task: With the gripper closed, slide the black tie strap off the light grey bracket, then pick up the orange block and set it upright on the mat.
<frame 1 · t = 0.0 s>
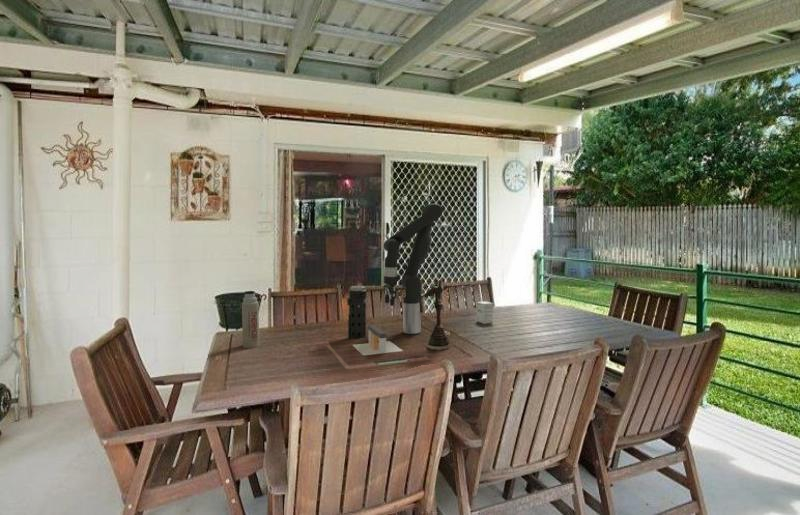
hand: (389, 304, 256), 17 cm above the table, tool pointing down, fingers open, 8 cm apart
tie strap: (377, 331, 225), point 10 cm above the table, slide at 0.0 cm
grey cylindrical canister: (484, 322, 289), on the table
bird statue: (434, 346, 235), on the table
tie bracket: (377, 350, 226), on the table
mat: (389, 360, 210), on the table
orange block: (377, 347, 226), point 1 cm above the table, touching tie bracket
thermos bottle: (251, 346, 235), on the table
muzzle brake: (357, 337, 251), on the table
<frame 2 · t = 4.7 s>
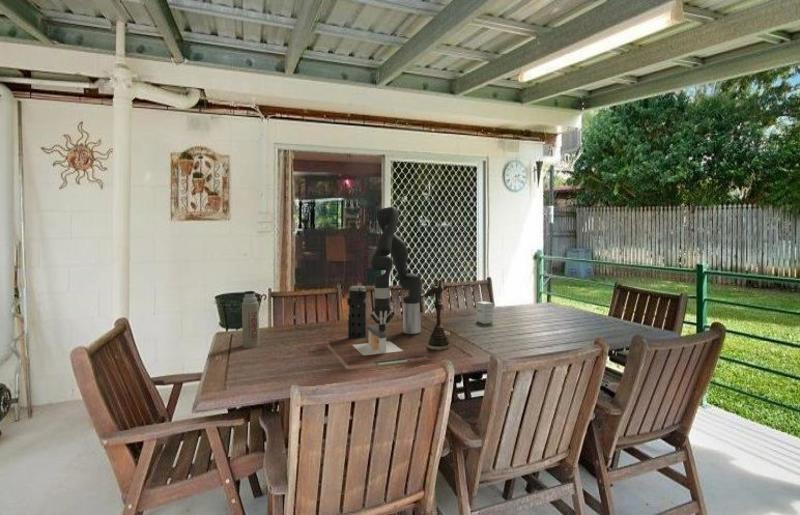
hand: (382, 331, 226), 9 cm above the table, tool pointing down, fingers closed
tie strap: (376, 331, 225), point 10 cm above the table, slide at 0.5 cm, touching gripper
everything else where it was.
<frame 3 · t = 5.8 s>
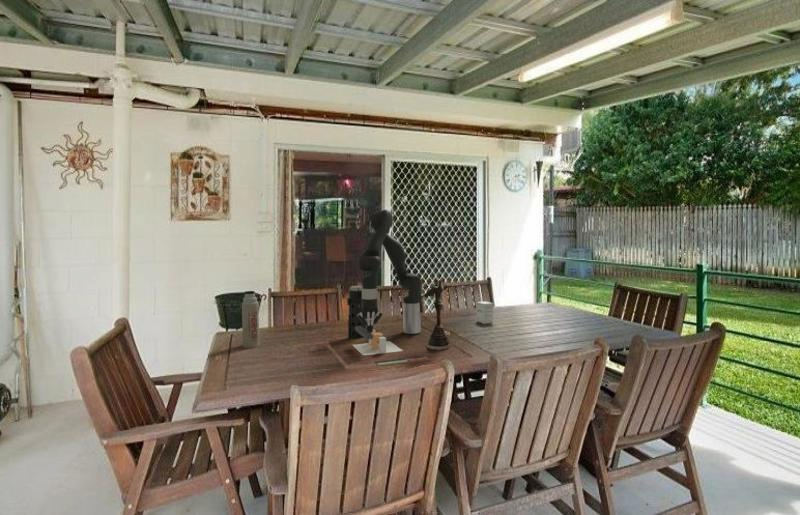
hand: (369, 332, 224), 9 cm above the table, tool pointing down, fingers closed
tie strap: (363, 332, 223), point 10 cm above the table, slide at 6.9 cm, touching gripper
everything else where it was.
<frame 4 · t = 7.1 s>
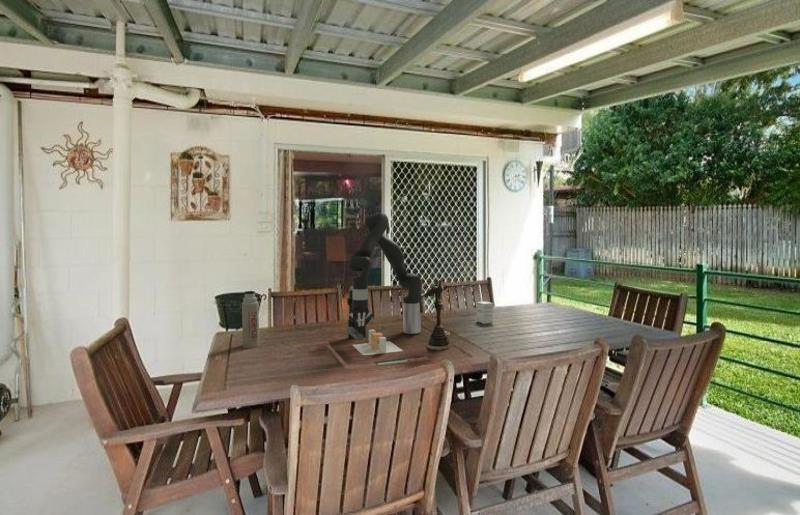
hand: (360, 333, 222), 9 cm above the table, tool pointing down, fingers closed
tie strap: (354, 333, 221), point 10 cm above the table, slide at 11.5 cm, touching gripper
everything else where it was.
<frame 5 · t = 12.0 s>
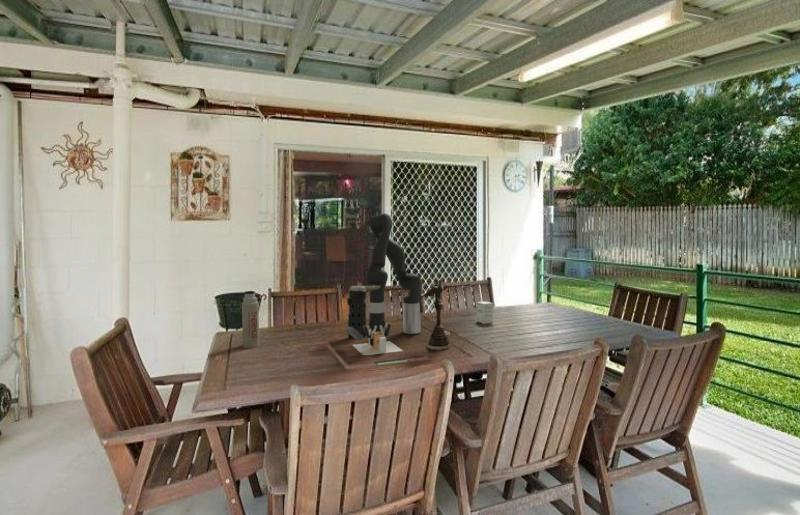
hand: (377, 345, 226), 3 cm above the table, tool pointing down, fingers closed on orange block, 4 cm apart
tie strap: (354, 333, 221), point 10 cm above the table, slide at 11.5 cm
orange block: (377, 347, 226), point 2 cm above the table, touching gripper, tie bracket
everything else where it was.
when the fingers open (4 cm above the table, at t = 18.4 s): orange block drops 1 cm, resting on mat.
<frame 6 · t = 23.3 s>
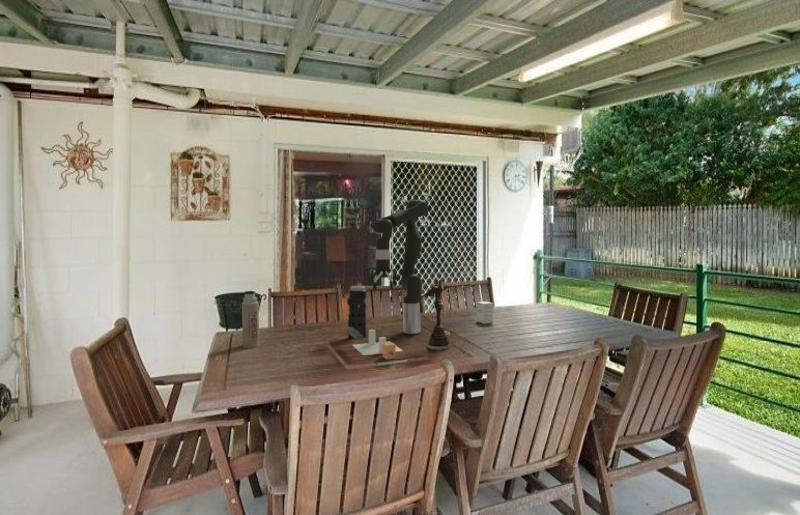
hand: (382, 289, 239), 28 cm above the table, tool pointing down, fingers open, 8 cm apart
orange block: (389, 358, 210), point 1 cm above the table, touching mat
everything else where it was.
at the end: tie strap slide at 11.5 cm; orange block inside the target area on the mat (0.1 cm from its centre), point 0.8 cm above the mat's base; orange block tilted 0° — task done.
